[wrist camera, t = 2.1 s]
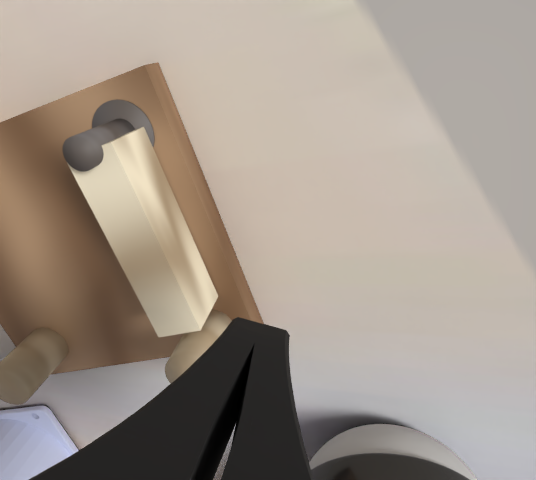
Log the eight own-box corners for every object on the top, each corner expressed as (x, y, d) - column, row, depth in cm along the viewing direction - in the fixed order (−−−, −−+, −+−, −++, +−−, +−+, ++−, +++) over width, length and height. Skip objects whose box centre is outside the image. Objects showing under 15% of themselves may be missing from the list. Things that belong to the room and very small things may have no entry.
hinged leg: (95, 126, 17) (46, 145, 15) (137, 111, 17) (94, 128, 14) (180, 303, 20) (153, 345, 18) (218, 296, 20) (196, 338, 17)
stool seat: (49, 362, 26) (-5, 421, 22) (-85, 158, 21) (-185, 188, 17) (265, 327, 22) (244, 393, 18) (158, 62, 17) (98, 74, 13)
